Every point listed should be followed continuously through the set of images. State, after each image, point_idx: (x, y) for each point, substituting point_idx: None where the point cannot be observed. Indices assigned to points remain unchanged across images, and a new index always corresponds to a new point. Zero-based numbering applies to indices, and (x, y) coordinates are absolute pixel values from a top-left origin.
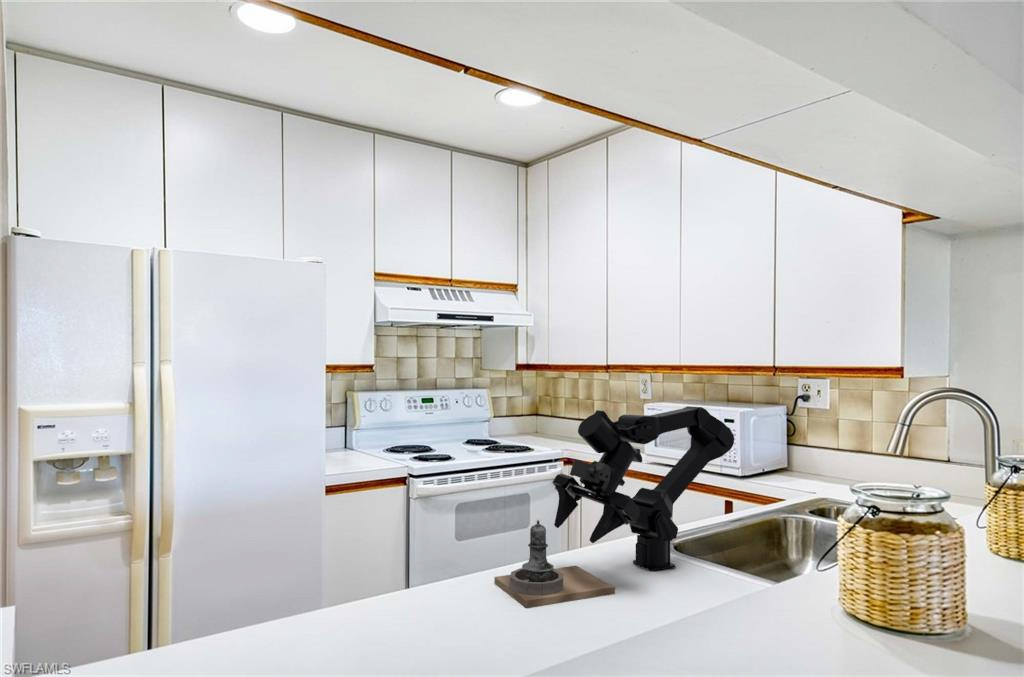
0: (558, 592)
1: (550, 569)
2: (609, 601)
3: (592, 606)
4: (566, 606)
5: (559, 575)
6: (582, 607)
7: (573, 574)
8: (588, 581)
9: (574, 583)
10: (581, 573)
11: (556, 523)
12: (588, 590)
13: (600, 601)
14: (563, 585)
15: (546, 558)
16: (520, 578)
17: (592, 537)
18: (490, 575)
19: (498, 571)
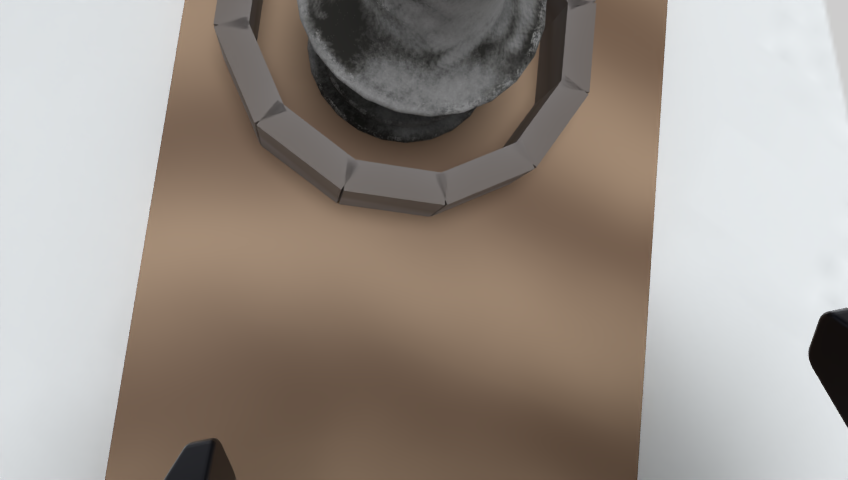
0: (230, 87)
1: (303, 18)
2: (15, 363)
3: (9, 205)
4: (107, 69)
5: (324, 143)
6: (33, 140)
7: (482, 400)
8: (305, 404)
9: (321, 289)
10: (472, 465)
11: (845, 326)
12: (147, 284)
13: (52, 309)
14: (325, 198)
15: (394, 9)
16: None
17: (170, 474)
18: (774, 21)
19: (816, 98)
